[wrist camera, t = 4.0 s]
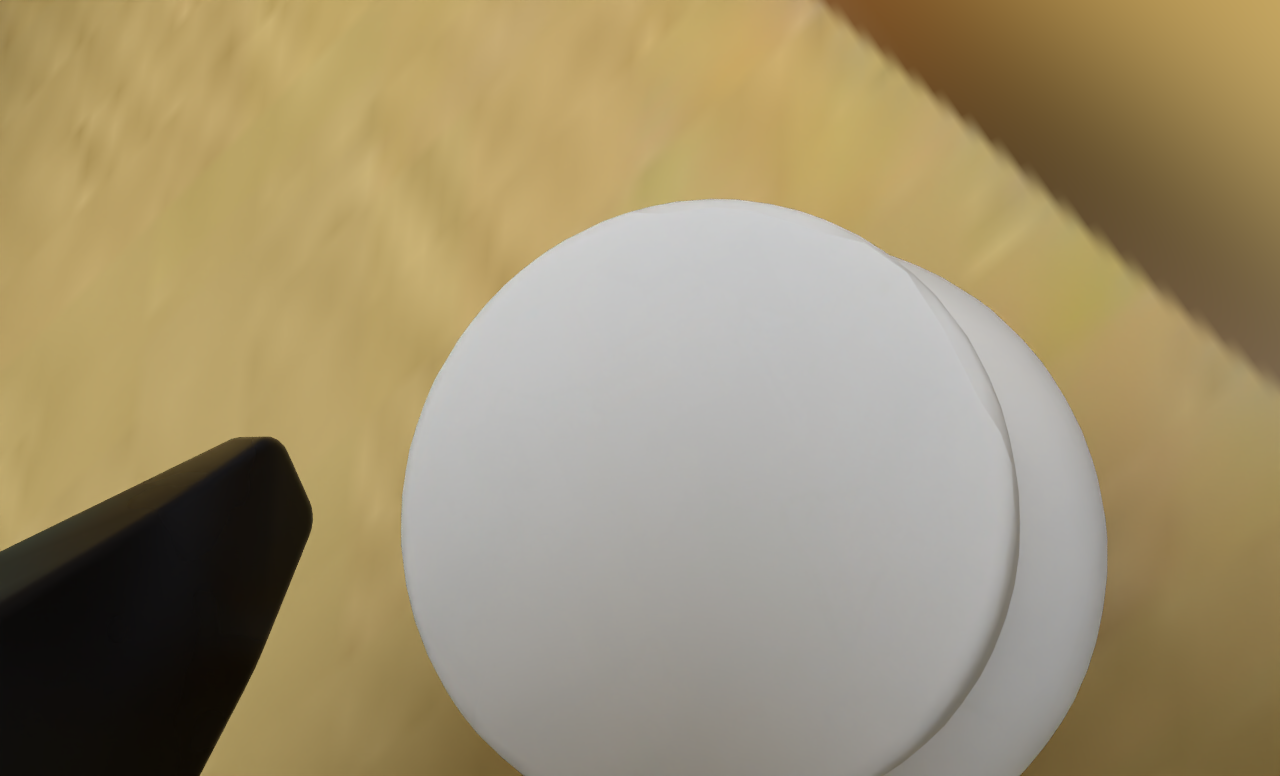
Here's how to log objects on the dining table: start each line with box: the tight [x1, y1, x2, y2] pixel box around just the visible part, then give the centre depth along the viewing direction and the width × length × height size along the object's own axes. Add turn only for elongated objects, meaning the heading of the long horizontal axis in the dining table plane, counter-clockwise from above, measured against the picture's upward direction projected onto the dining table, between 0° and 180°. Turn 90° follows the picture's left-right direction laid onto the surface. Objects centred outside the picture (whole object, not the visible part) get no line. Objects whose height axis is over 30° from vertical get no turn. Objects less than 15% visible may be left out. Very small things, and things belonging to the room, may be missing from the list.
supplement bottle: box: [401, 199, 1107, 776], centre depth 11 cm, size 5×5×10 cm
